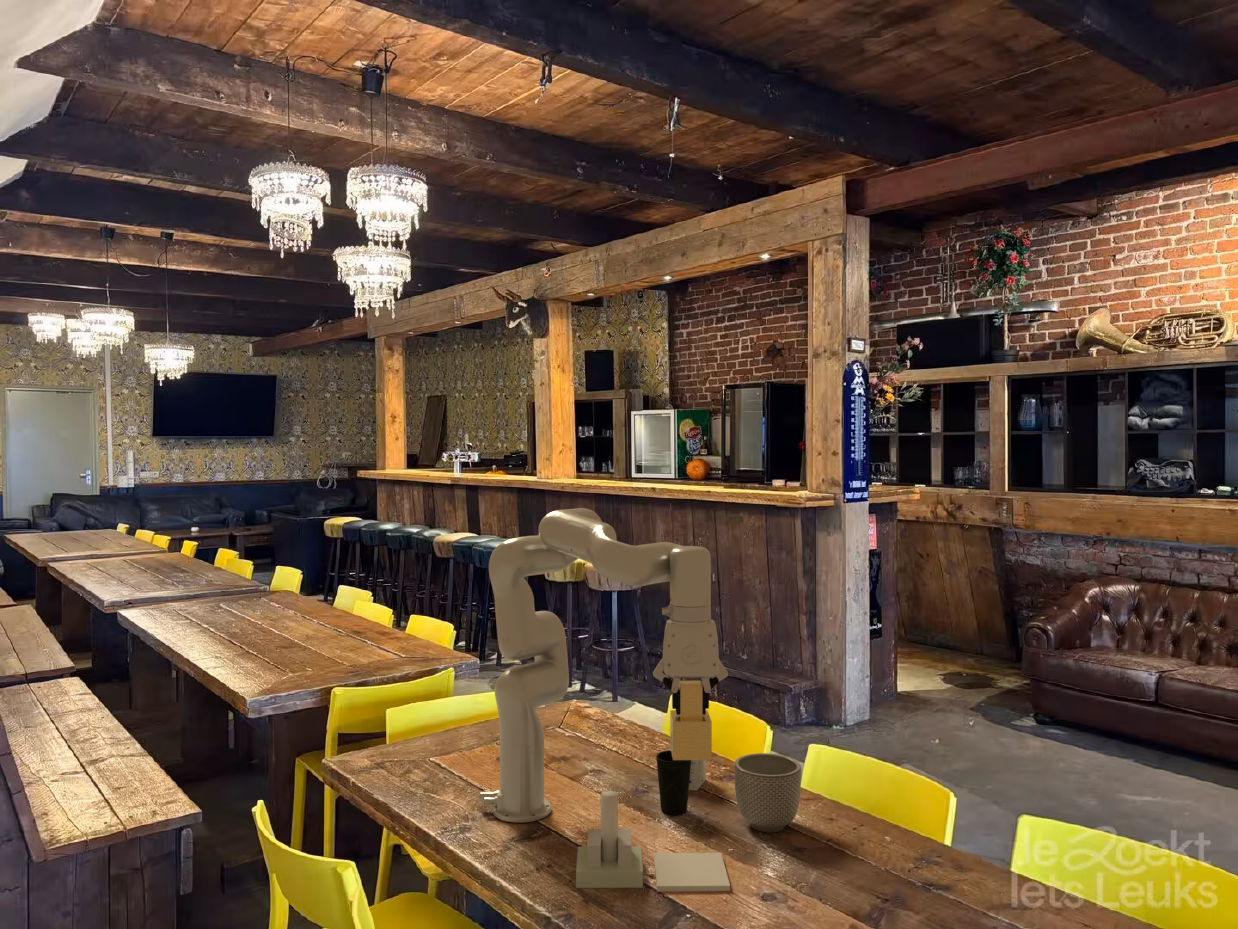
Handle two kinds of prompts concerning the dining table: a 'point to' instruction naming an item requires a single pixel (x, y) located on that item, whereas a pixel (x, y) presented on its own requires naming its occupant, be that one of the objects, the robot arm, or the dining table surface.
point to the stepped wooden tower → (690, 725)
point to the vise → (609, 853)
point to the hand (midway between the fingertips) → (690, 711)
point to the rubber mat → (690, 872)
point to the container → (697, 774)
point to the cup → (673, 783)
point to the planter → (767, 790)
